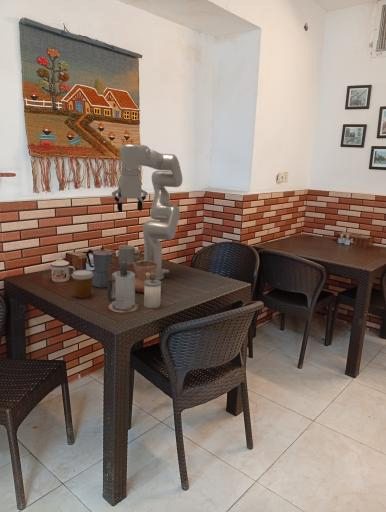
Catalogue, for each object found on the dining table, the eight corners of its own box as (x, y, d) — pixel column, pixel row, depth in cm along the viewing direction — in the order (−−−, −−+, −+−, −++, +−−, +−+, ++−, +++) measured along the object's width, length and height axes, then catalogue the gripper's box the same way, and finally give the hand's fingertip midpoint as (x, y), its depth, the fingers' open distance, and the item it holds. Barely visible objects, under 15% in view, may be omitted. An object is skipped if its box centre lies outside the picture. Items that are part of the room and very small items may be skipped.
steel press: (129, 301, 180) (129, 269, 176) (138, 308, 172) (139, 275, 168) (103, 305, 173) (103, 272, 169) (112, 313, 165) (112, 279, 162)
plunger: (125, 298, 174) (125, 260, 170) (128, 301, 172) (128, 262, 168) (119, 300, 173) (119, 261, 168) (121, 302, 170) (121, 263, 166)
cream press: (155, 302, 182) (156, 270, 178) (163, 308, 176) (164, 274, 172) (140, 305, 178) (141, 272, 174) (148, 311, 171) (149, 276, 168)
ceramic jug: (162, 296, 190) (163, 267, 187) (132, 297, 187) (132, 268, 184) (156, 284, 207) (157, 258, 204) (128, 285, 204) (129, 258, 200)
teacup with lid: (50, 282, 202) (49, 260, 199) (53, 277, 210) (52, 256, 207) (74, 282, 204) (73, 260, 201) (76, 277, 212) (75, 256, 210)
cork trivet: (130, 301, 182) (130, 299, 182) (143, 310, 172) (143, 309, 171) (103, 305, 175) (103, 304, 175) (115, 316, 165) (115, 314, 164)
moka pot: (110, 289, 196) (110, 250, 191) (81, 286, 199) (80, 247, 194) (118, 283, 205) (118, 246, 200) (90, 280, 208) (89, 243, 203)
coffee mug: (118, 264, 239) (118, 248, 236) (118, 260, 248) (118, 245, 246) (140, 264, 242) (140, 248, 239) (139, 260, 251) (139, 245, 249)
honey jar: (82, 302, 178) (82, 276, 175) (68, 297, 183) (67, 272, 180) (98, 296, 186) (97, 272, 183) (83, 292, 191) (83, 268, 188)
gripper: (143, 172, 185) (143, 209, 189) (108, 172, 176) (109, 210, 180) (151, 173, 179) (150, 211, 183) (115, 173, 170) (115, 212, 174)
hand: (129, 210), depth 182 cm, fingers open, 9 cm apart
